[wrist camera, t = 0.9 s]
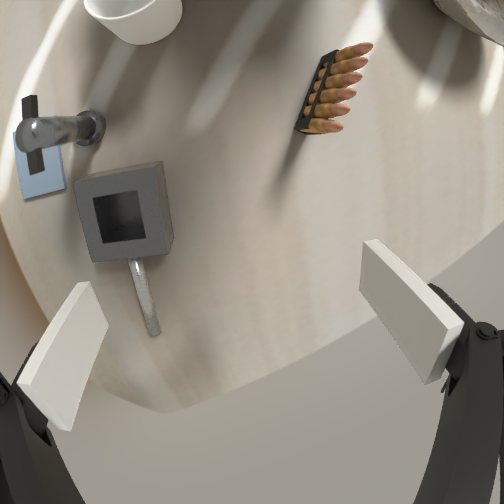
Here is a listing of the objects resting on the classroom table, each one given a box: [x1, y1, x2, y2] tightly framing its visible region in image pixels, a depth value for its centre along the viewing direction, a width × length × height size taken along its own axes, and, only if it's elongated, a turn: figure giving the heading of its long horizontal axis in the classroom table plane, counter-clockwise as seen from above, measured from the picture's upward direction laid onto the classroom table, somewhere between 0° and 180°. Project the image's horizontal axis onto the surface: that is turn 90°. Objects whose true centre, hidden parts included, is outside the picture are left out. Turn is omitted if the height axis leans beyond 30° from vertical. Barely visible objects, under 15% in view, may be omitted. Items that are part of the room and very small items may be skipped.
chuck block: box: [73, 161, 174, 336], centre depth 35 cm, size 23×10×5 cm, turn 4°
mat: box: [13, 116, 67, 199], centre depth 29 cm, size 10×8×1 cm
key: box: [15, 95, 106, 176], centre depth 23 cm, size 7×4×14 cm, turn 4°
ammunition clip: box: [294, 43, 373, 135], centre depth 26 cm, size 11×2×12 cm, turn 160°
